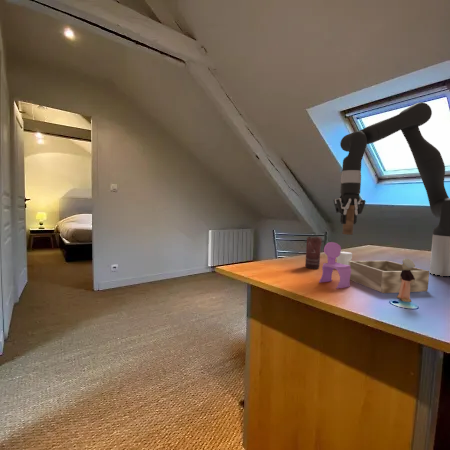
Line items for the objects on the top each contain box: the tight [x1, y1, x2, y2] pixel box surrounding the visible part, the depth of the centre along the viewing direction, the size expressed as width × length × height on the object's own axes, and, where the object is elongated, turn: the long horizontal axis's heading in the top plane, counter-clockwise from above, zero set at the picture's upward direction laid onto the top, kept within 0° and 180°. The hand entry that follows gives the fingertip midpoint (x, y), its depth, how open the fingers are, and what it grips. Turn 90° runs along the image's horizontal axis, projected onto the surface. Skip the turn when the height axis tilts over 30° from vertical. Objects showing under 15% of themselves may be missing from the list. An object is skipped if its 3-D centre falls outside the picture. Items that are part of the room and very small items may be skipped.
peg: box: [342, 205, 355, 236], centre depth 118 cm, size 4×4×12 cm
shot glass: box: [336, 250, 353, 265], centre depth 133 cm, size 7×7×7 cm
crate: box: [349, 260, 430, 294], centre depth 104 cm, size 18×18×7 cm
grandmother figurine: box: [396, 258, 416, 303], centre depth 86 cm, size 8×4×13 cm, turn 5°
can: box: [304, 236, 323, 270], centre depth 129 cm, size 6×6×14 cm
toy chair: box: [318, 241, 351, 289], centre depth 101 cm, size 8×9×15 cm
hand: (348, 223), depth 118 cm, fingers closed on peg, 4 cm apart
